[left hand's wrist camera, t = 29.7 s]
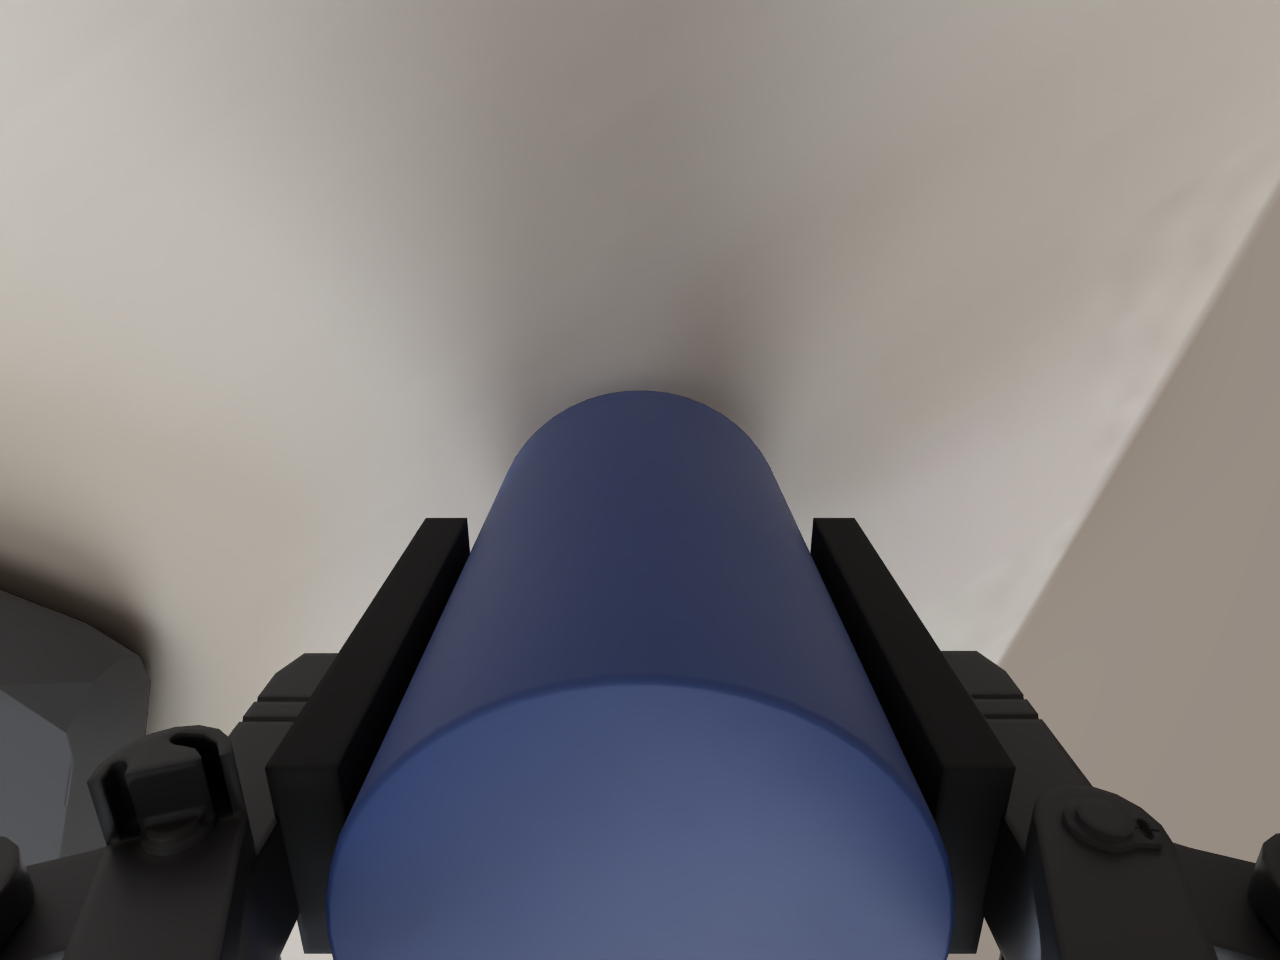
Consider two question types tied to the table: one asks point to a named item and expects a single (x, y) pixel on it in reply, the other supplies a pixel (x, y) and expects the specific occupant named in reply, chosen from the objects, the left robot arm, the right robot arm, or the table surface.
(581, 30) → the table surface
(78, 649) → the dark grey flat piece
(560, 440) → the can
